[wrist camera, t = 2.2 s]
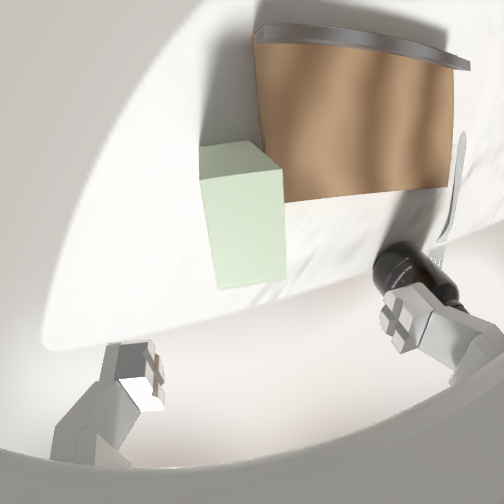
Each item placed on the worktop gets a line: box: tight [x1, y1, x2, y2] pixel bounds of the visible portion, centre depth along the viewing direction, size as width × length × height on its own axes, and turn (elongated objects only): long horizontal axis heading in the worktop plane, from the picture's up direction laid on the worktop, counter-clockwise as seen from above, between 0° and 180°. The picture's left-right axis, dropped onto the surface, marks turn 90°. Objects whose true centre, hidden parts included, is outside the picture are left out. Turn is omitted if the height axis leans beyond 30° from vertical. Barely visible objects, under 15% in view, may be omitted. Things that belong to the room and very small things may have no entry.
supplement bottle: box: [373, 242, 469, 314], centre depth 27 cm, size 7×7×12 cm
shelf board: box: [252, 24, 470, 203], centre depth 21 cm, size 20×14×4 cm
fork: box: [428, 131, 466, 269], centre depth 29 cm, size 3×24×2 cm, turn 0°
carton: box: [199, 140, 287, 291], centre depth 20 cm, size 4×6×10 cm, turn 5°
